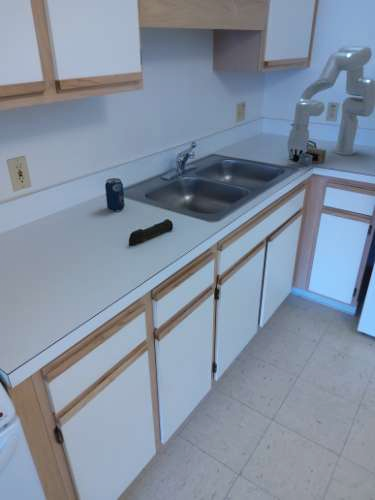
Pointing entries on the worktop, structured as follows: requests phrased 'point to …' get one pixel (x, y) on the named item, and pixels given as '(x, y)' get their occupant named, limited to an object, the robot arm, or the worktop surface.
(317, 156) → the cabinet
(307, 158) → the door
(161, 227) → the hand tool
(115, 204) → the soda can
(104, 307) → the worktop surface
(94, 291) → the worktop surface
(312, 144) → the grey arched panel
